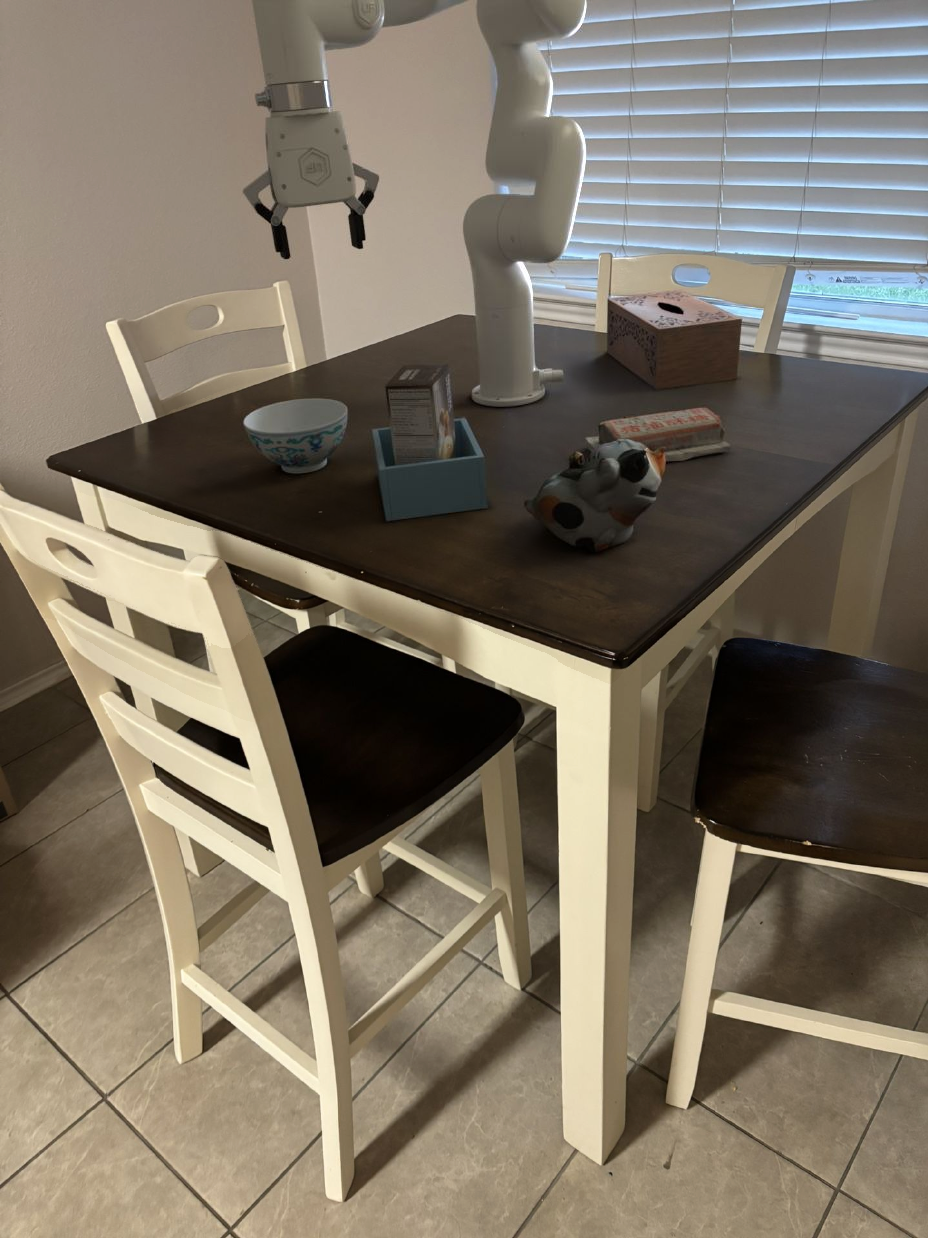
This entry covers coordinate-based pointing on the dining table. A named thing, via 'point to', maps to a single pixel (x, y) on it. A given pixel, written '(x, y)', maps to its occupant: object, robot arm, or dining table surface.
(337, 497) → the dining table surface
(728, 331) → the tissue box cover
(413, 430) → the coffee box
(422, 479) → the bin
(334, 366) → the dining table surface
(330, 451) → the chinaware
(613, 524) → the lucky cat figurine
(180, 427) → the dining table surface
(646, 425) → the packaged product
